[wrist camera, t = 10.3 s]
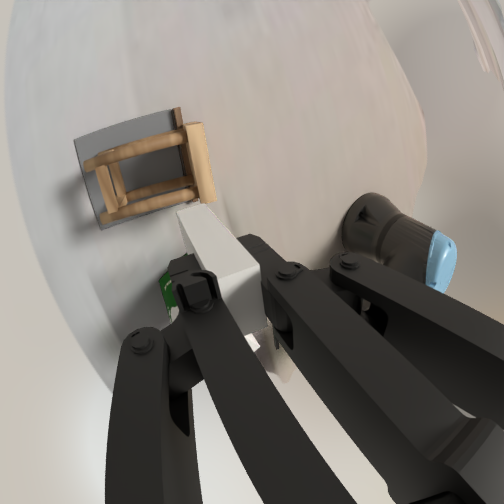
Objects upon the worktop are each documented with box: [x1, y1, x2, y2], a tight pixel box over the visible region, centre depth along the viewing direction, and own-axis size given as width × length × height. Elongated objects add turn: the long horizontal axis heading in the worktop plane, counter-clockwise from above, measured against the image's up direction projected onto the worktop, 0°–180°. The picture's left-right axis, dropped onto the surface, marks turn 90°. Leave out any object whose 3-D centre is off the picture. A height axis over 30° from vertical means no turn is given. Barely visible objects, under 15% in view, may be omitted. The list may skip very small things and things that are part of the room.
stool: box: [83, 122, 217, 225], centre depth 31 cm, size 9×9×14 cm
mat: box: [74, 109, 189, 230], centre depth 34 cm, size 14×14×1 cm
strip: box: [173, 107, 198, 202], centre depth 36 cm, size 1×14×1 cm, turn 8°
